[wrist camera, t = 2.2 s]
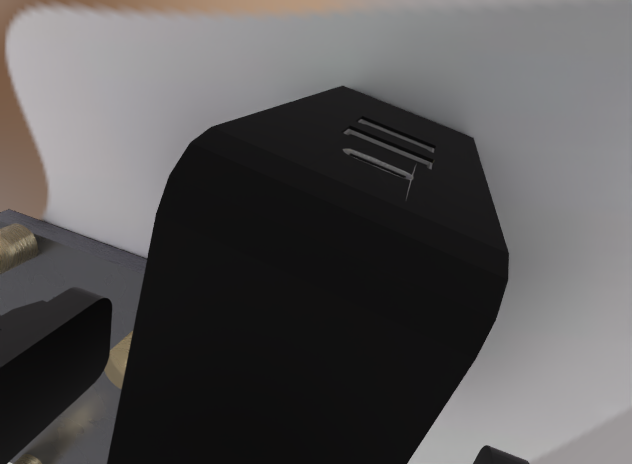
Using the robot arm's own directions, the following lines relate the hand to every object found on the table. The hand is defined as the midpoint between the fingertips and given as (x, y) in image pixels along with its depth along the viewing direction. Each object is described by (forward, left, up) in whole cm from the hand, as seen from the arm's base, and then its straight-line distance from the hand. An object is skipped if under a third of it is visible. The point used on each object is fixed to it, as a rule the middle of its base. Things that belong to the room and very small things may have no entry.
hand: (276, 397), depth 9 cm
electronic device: (0, 0, -8) cm, 8 cm away
